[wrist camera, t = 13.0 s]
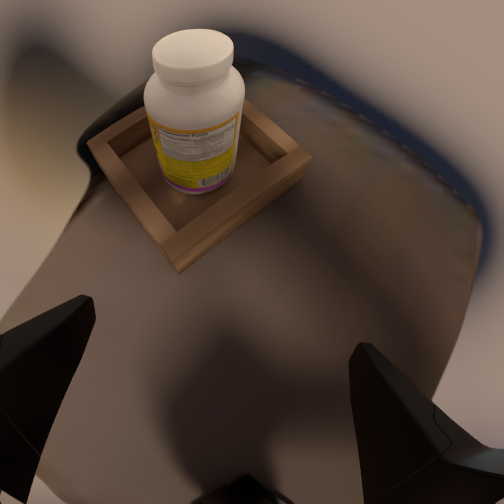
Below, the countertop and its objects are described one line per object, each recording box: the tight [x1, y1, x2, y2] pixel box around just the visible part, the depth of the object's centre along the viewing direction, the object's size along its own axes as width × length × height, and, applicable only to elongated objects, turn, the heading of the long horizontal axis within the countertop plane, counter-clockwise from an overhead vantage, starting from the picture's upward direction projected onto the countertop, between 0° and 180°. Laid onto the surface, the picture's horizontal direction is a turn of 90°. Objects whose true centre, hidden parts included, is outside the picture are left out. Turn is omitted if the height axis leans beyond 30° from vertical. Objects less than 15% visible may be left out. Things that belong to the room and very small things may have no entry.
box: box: [87, 99, 312, 274], centre depth 24 cm, size 14×14×4 cm
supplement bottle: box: [144, 29, 245, 194], centre depth 19 cm, size 7×7×13 cm
